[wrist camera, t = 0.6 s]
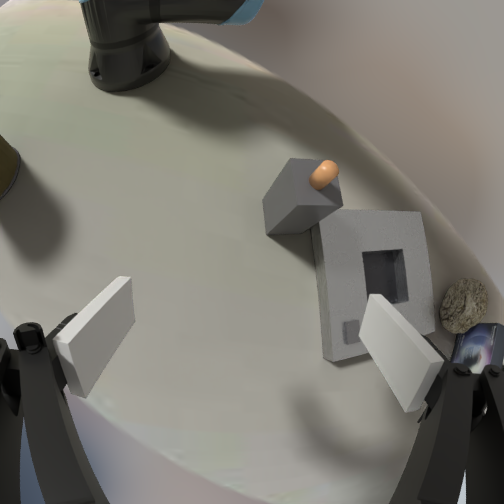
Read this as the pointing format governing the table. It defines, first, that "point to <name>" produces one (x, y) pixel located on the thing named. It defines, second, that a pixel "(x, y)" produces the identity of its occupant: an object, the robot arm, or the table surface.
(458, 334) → the small box
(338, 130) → the table surface
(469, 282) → the stone
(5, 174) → the canister
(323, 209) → the plug
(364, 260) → the socket
